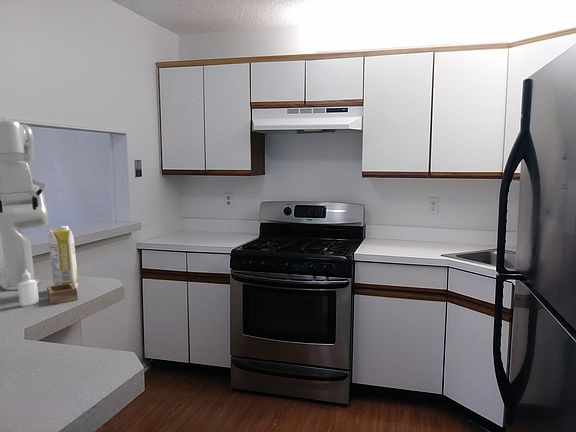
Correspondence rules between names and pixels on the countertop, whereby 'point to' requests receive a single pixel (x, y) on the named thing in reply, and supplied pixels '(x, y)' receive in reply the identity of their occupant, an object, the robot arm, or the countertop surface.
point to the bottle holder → (62, 293)
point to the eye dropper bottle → (27, 290)
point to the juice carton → (63, 256)
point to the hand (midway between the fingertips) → (18, 211)
